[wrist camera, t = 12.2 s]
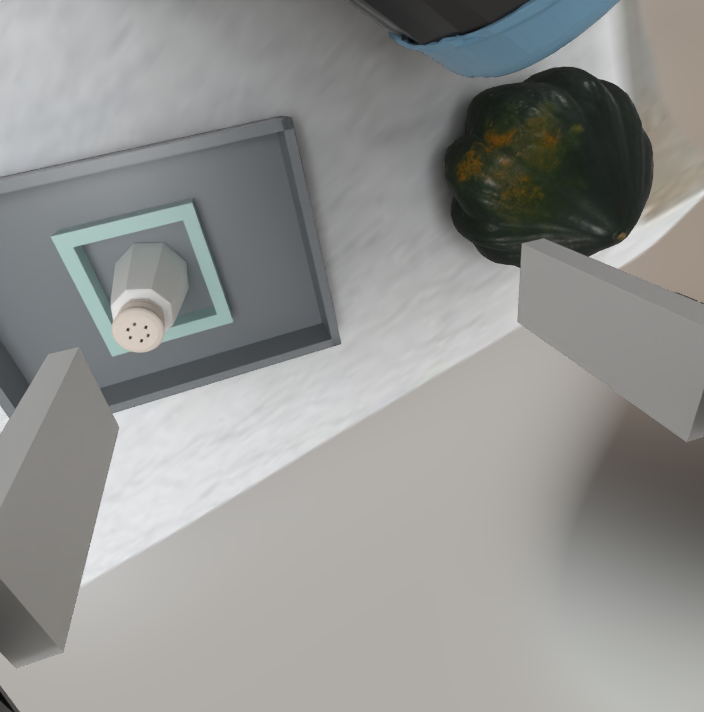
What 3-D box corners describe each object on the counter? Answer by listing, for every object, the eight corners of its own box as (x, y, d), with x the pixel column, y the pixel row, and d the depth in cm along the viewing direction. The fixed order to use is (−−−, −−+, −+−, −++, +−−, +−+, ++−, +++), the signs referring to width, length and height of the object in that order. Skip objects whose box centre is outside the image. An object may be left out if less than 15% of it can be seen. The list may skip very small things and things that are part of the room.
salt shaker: (106, 294, 36) (74, 360, 27) (125, 228, 34) (98, 273, 25) (178, 316, 38) (172, 383, 29) (199, 255, 36) (200, 305, 27)
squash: (544, -22, 31) (581, 145, 24) (668, 94, 37) (722, 247, 31) (409, 133, 42) (411, 274, 35) (524, 200, 49) (543, 328, 42)
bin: (-95, 197, 31) (-137, 210, 27) (281, 115, 35) (291, 116, 31) (41, 408, 39) (24, 440, 36) (328, 323, 43) (341, 343, 40)
